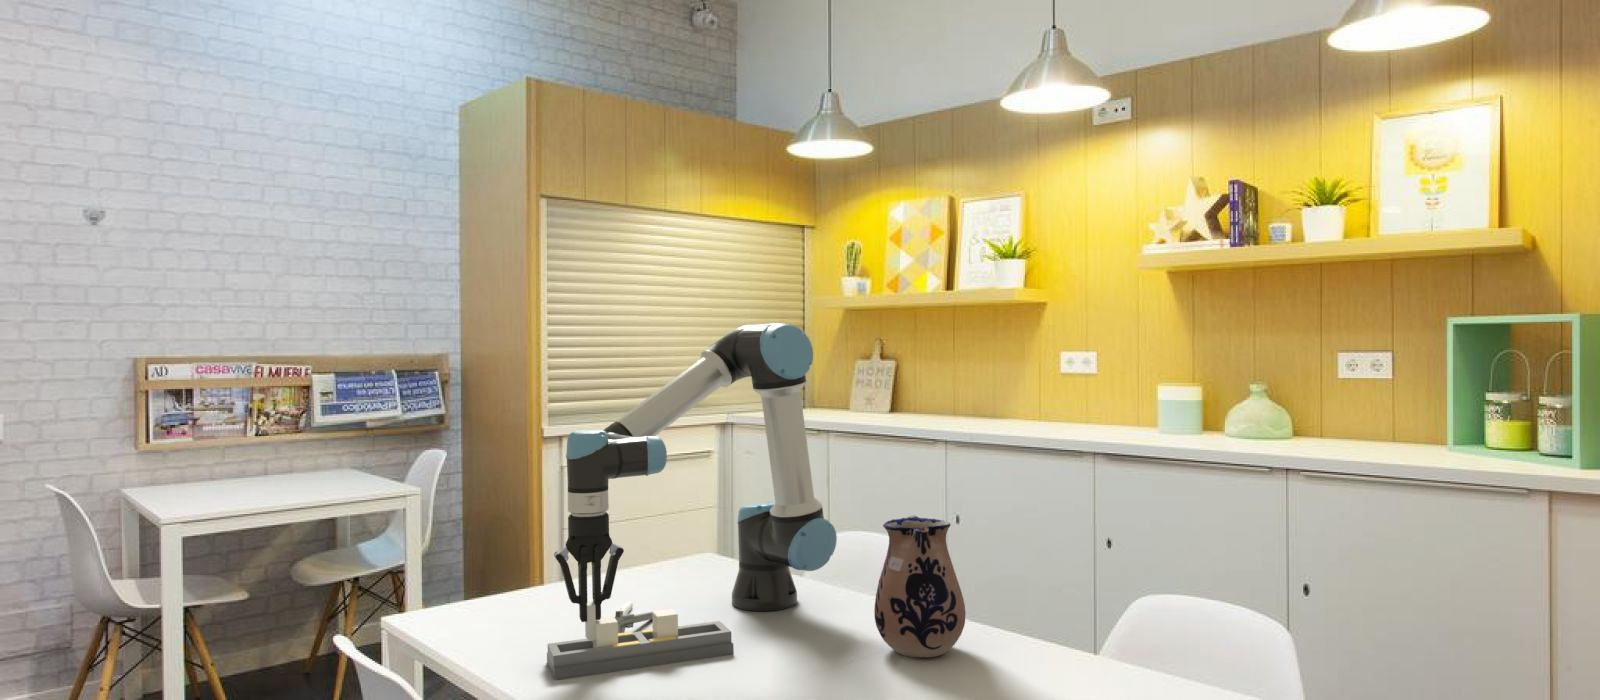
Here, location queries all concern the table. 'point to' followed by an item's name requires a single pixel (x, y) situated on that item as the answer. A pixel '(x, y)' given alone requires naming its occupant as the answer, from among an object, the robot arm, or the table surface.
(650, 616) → the caliper
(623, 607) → the marker
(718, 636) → the switch board
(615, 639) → the tab
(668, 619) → the tab
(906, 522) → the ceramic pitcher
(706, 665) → the table surface
